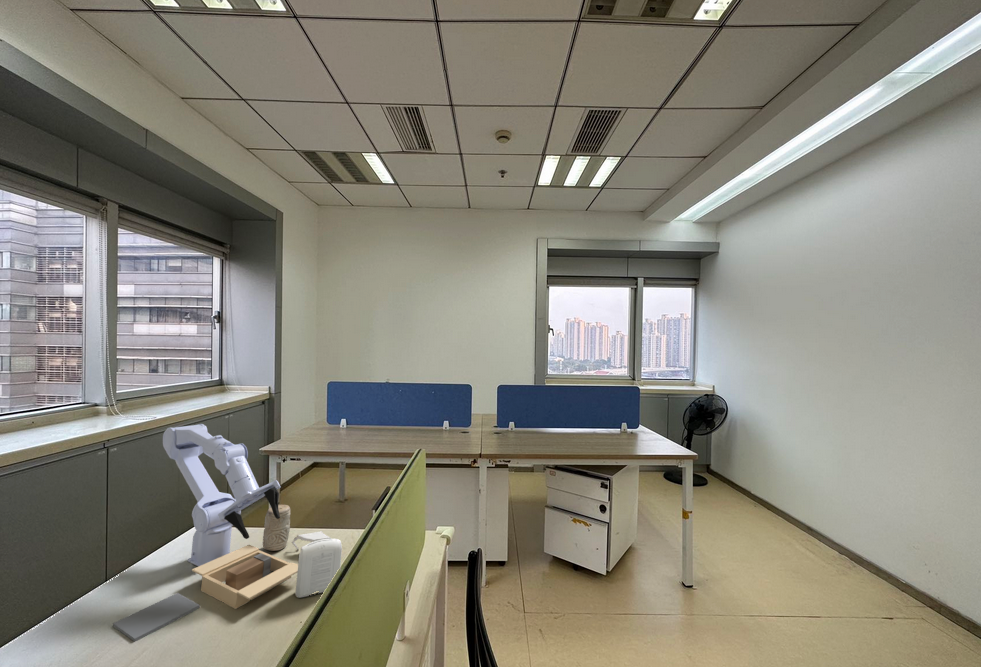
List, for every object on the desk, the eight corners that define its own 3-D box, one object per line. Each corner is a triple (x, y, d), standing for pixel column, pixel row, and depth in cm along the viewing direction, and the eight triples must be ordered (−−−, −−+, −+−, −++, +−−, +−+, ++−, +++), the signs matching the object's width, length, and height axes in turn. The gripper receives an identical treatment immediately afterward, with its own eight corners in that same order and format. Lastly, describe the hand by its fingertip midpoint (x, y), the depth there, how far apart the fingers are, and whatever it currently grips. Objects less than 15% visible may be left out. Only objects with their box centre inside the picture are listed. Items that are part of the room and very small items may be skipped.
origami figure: (334, 543, 122) (336, 527, 122) (330, 557, 114) (331, 540, 114) (293, 545, 119) (295, 529, 119) (285, 560, 111) (287, 542, 111)
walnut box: (224, 590, 96) (226, 569, 96) (259, 572, 104) (260, 553, 104) (235, 596, 94) (237, 574, 94) (269, 577, 102) (271, 557, 103)
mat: (112, 626, 82) (112, 623, 82) (177, 595, 93) (177, 592, 93) (134, 641, 78) (134, 638, 78) (199, 607, 89) (199, 605, 89)
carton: (190, 585, 97) (192, 569, 97) (247, 558, 110) (249, 544, 111) (247, 615, 88) (249, 597, 88) (302, 582, 101) (304, 567, 101)
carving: (293, 544, 120) (296, 504, 120) (274, 556, 112) (277, 514, 113) (276, 540, 121) (279, 501, 122) (256, 552, 114) (260, 510, 115)
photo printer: (337, 580, 103) (340, 532, 104) (340, 588, 99) (344, 539, 100) (294, 591, 97) (298, 541, 98) (296, 601, 94) (300, 548, 94)
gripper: (206, 496, 98) (225, 544, 93) (266, 463, 105) (287, 505, 100) (218, 503, 104) (236, 548, 99) (273, 470, 110) (293, 511, 105)
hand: (262, 527), depth 99 cm, fingers open, 7 cm apart
